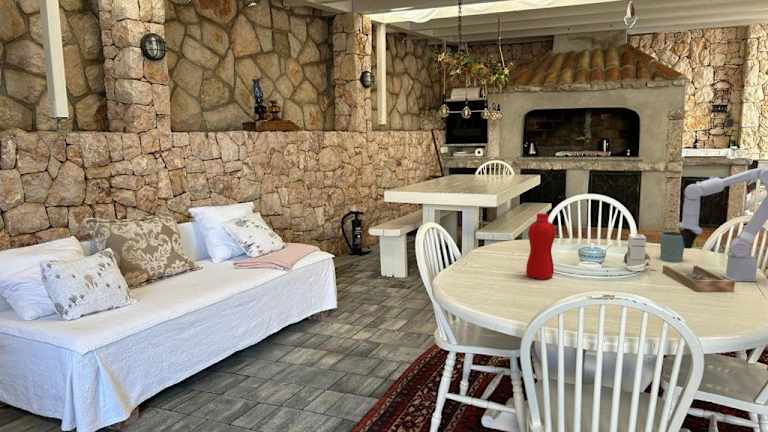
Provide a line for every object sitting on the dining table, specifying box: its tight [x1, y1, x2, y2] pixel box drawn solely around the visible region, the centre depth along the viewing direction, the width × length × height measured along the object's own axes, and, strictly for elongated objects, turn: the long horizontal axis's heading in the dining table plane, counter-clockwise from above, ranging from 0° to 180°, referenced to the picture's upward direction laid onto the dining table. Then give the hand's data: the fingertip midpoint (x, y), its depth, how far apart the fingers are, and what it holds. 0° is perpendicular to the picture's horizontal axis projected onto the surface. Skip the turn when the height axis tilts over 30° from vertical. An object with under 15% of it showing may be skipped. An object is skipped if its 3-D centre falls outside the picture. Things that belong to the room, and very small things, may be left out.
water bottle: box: [525, 212, 556, 281], centre depth 219 cm, size 9×11×25 cm
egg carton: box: [683, 272, 717, 281], centre depth 209 cm, size 11×8×4 cm
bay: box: [662, 265, 736, 293], centre depth 214 cm, size 13×25×4 cm, turn 179°
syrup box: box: [626, 233, 647, 273], centre depth 229 cm, size 6×6×14 cm
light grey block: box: [623, 251, 650, 263], centre depth 242 cm, size 10×10×8 cm
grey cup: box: [659, 230, 685, 263], centre depth 246 cm, size 10×10×12 cm
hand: (687, 248), depth 226 cm, fingers closed
